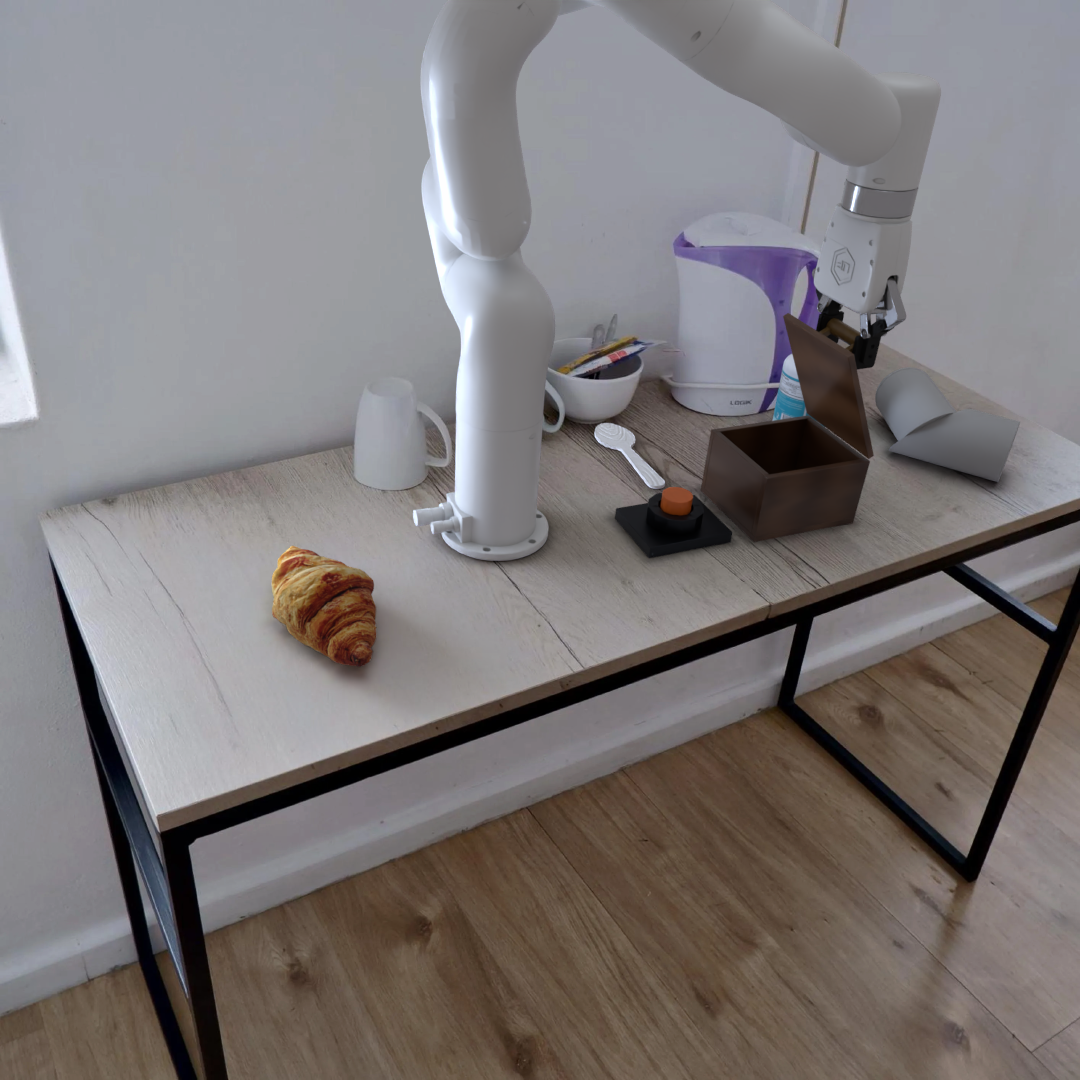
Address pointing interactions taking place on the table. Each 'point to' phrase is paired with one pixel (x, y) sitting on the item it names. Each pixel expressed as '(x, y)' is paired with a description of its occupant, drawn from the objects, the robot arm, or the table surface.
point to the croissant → (325, 605)
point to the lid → (830, 380)
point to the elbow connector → (942, 426)
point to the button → (676, 501)
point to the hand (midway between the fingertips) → (843, 354)
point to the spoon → (627, 451)
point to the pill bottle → (789, 394)
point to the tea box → (783, 477)
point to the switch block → (672, 527)
